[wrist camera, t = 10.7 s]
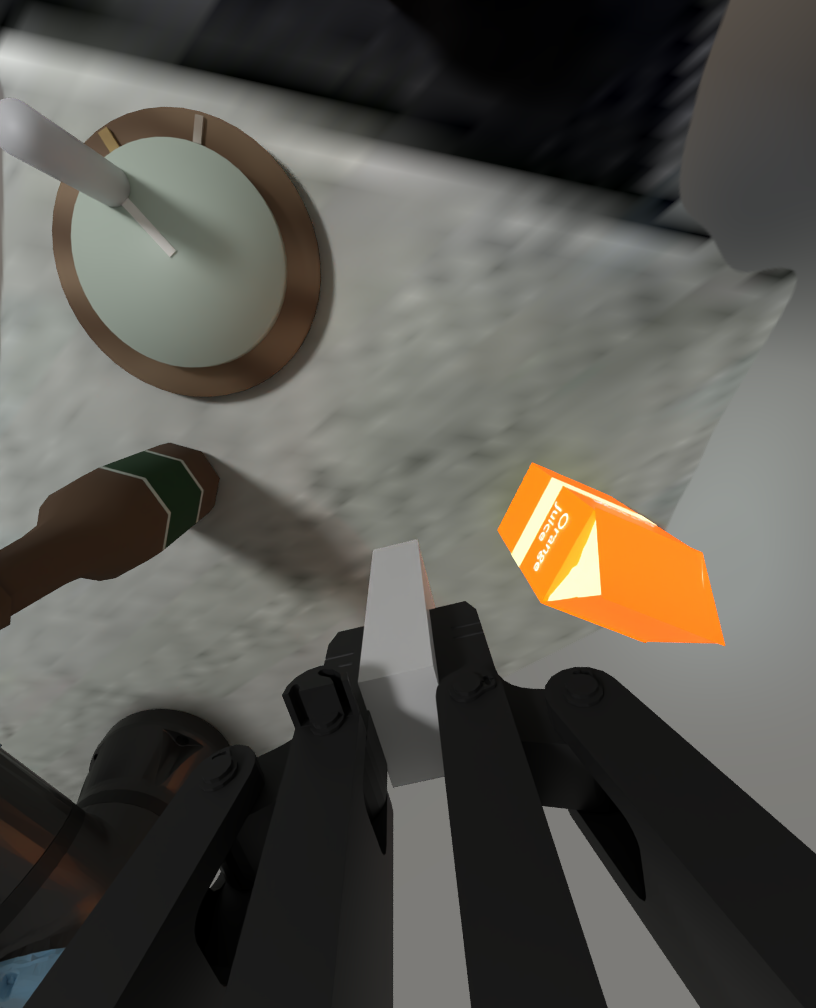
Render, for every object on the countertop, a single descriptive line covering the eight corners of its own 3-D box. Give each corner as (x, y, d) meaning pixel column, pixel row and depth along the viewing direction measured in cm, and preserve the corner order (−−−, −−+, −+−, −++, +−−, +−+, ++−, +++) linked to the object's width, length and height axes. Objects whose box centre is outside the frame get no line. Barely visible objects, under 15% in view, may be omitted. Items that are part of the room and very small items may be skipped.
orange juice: (572, 561, 48) (691, 696, 29) (496, 531, 47) (566, 650, 28) (611, 494, 46) (766, 591, 27) (532, 460, 45) (635, 536, 25)
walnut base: (299, 419, 43) (296, 421, 41) (60, 365, 41) (48, 365, 39) (341, 157, 37) (339, 149, 35) (64, 79, 35) (50, 67, 33)
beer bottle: (123, 487, 44) (-167, 625, 21) (166, 423, 43) (-99, 499, 20) (195, 535, 46) (-5, 712, 23) (239, 475, 44) (71, 601, 21)
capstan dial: (328, 275, 38) (304, 245, 28) (195, 406, 41) (130, 421, 31) (176, 93, 34) (85, -18, 24) (42, 251, 37) (-91, 211, 27)
